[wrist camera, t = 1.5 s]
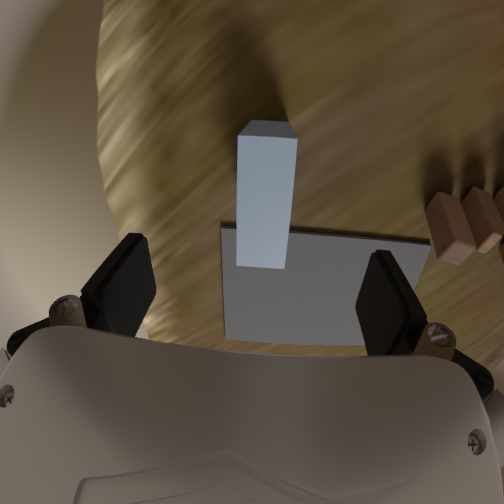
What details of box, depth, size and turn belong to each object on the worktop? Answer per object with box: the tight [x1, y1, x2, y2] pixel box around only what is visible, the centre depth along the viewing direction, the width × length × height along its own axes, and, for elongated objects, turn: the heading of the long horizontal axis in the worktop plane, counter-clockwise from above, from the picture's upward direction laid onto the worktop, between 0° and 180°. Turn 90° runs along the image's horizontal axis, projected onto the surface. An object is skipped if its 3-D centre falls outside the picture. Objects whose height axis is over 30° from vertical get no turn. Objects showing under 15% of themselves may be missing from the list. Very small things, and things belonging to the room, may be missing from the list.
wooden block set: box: [425, 186, 504, 265], centre depth 19 cm, size 18×9×10 cm, turn 83°
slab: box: [236, 120, 298, 269], centre depth 19 cm, size 8×3×9 cm, turn 178°
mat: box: [221, 226, 432, 345], centre depth 30 cm, size 16×22×1 cm
